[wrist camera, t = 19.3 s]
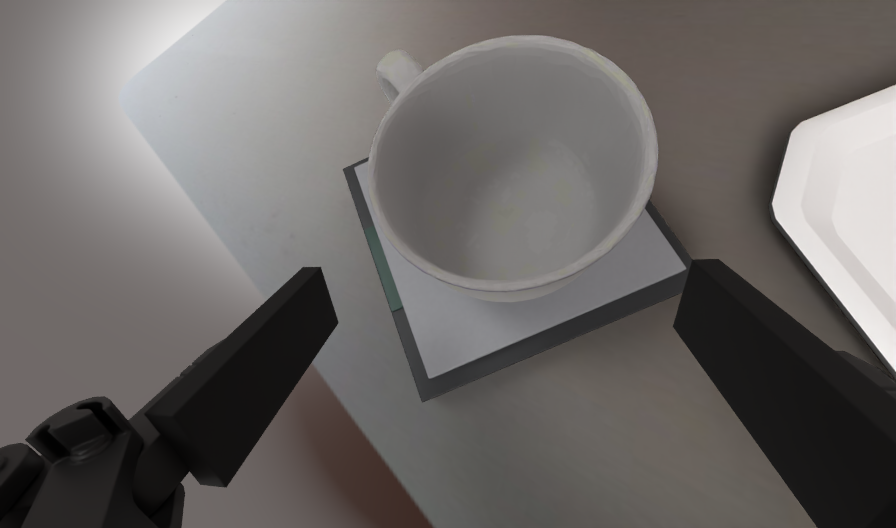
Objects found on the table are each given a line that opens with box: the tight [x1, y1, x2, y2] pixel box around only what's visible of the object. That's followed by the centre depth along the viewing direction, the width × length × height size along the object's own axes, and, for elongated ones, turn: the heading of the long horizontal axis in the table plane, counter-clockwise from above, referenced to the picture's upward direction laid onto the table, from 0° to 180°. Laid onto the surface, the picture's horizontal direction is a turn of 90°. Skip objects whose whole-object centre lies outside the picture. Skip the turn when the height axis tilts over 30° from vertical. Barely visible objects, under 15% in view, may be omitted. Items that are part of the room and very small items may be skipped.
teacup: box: [367, 35, 659, 302], centre depth 16 cm, size 14×11×8 cm
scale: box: [343, 157, 692, 402], centre depth 21 cm, size 17×17×3 cm
